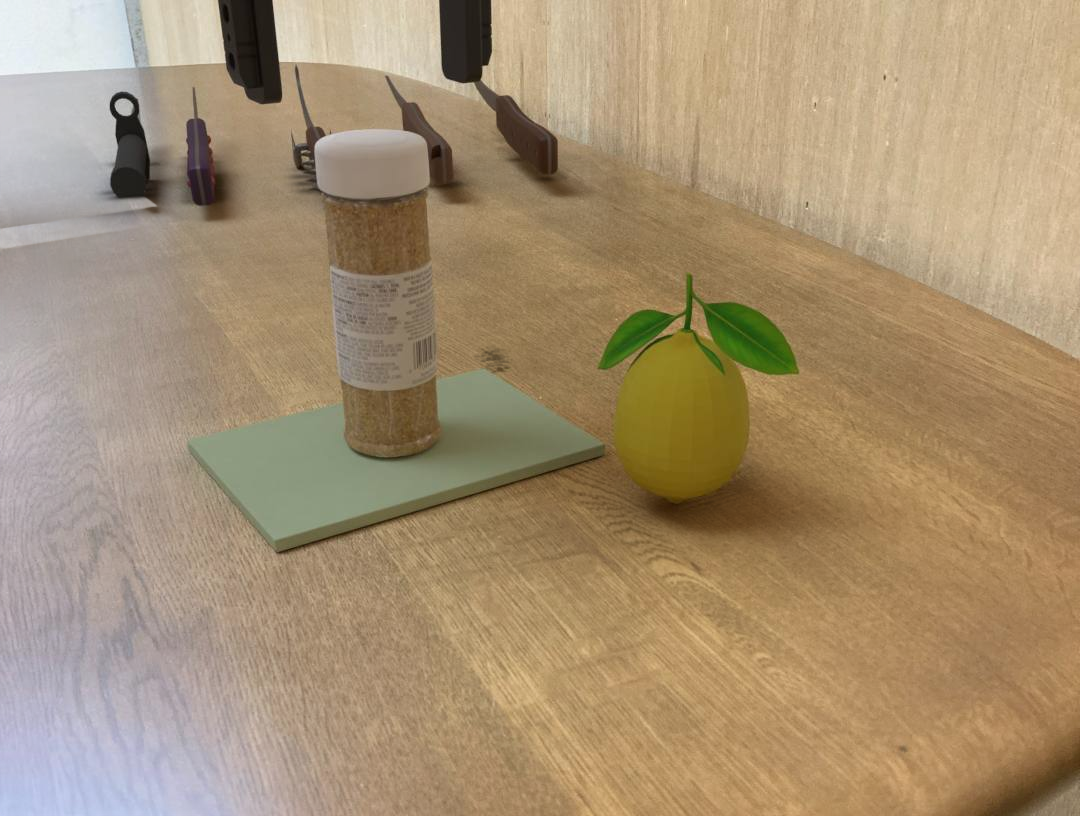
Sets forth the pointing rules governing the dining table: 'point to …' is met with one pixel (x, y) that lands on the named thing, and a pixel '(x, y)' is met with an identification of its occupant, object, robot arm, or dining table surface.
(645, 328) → the lemon
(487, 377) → the mat
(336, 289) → the sprinkles bottle
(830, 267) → the dining table surface
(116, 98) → the knife set
